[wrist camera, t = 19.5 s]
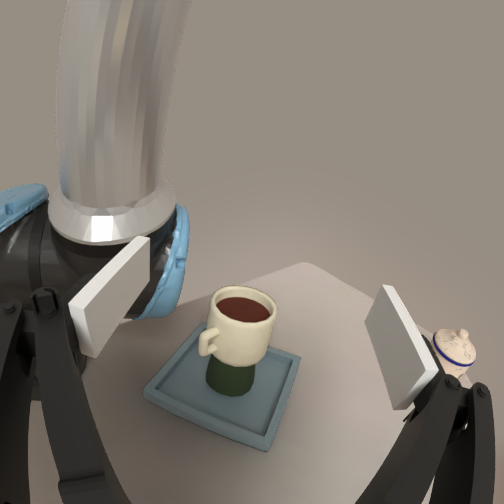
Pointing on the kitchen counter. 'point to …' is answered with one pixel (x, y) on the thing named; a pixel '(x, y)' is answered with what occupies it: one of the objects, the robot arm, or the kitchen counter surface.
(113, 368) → the kitchen counter surface
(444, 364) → the teacup with lid
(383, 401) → the kitchen counter surface
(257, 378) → the tray
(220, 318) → the character mug
